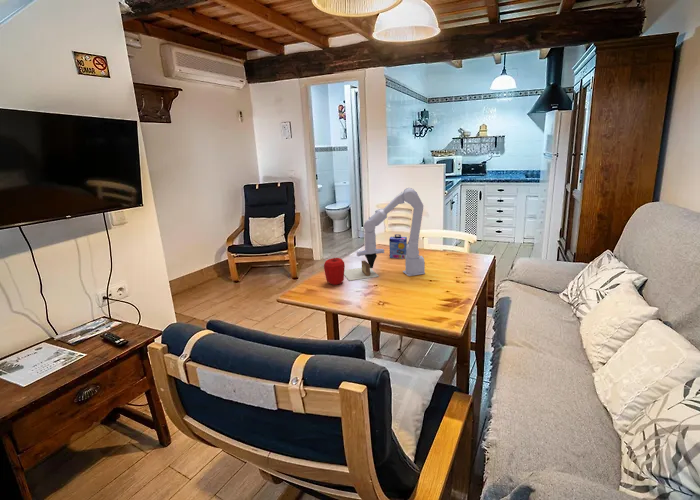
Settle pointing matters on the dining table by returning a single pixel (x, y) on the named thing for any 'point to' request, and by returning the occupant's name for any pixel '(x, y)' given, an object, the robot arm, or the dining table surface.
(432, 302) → the dining table surface
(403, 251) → the ink cartridge box
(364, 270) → the tile
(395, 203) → the robot arm
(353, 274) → the mat
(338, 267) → the apple
